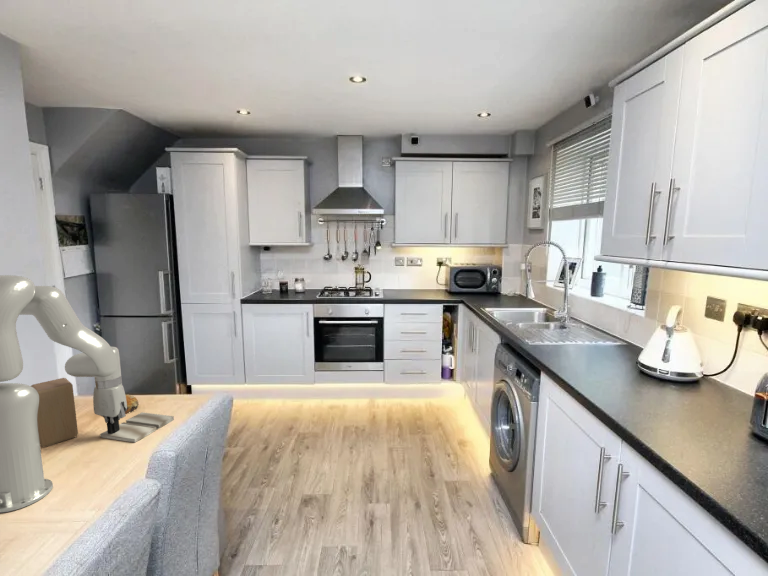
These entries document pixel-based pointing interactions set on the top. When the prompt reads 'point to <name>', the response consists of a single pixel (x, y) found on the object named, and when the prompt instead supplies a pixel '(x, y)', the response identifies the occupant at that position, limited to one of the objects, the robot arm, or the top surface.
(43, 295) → the robot arm
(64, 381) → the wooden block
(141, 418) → the laid board
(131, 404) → the blueberry muffin
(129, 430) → the loose plank
